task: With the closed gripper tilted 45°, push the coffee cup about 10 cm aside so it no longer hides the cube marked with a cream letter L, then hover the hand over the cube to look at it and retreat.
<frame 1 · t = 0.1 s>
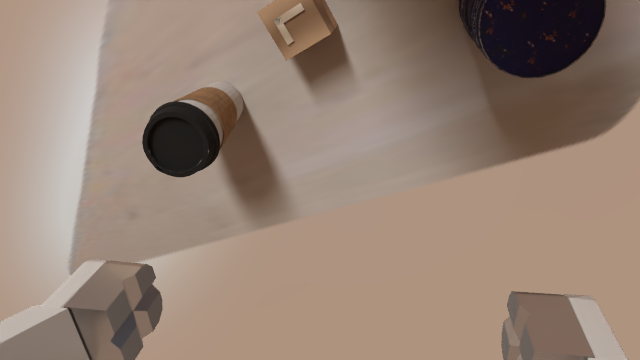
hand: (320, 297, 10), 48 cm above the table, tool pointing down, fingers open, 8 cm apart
coffee cup: (223, 101, 61), on the table
lettered cube: (304, 15, 53), on the table
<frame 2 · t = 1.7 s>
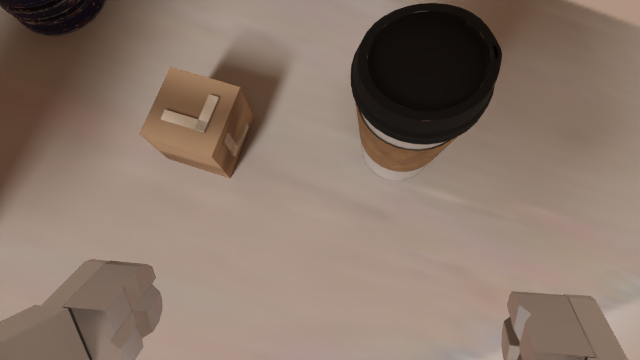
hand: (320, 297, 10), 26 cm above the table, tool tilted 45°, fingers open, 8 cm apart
coffee cup: (395, 149, 39), on the table
lettered cube: (211, 138, 40), on the table
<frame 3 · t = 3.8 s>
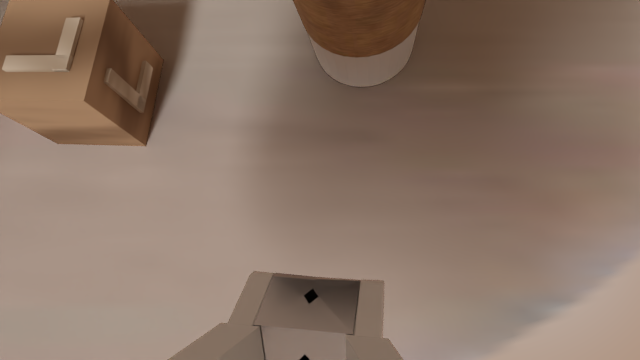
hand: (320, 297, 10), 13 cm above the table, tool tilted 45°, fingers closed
coffee cup: (363, 46, 27), on the table
lettered cube: (112, 101, 28), on the table
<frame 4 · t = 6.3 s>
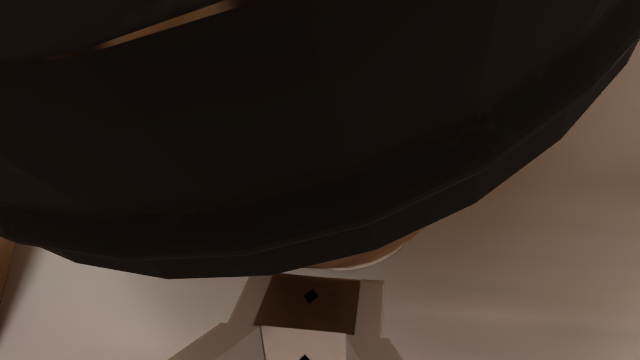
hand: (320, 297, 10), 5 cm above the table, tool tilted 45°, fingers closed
coffee cup: (344, 191, 17), on the table
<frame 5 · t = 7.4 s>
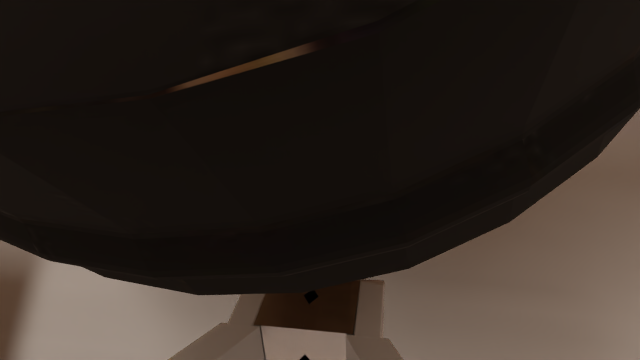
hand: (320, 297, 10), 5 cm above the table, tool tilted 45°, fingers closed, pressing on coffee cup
coffee cup: (351, 191, 17), on the table, touching gripper
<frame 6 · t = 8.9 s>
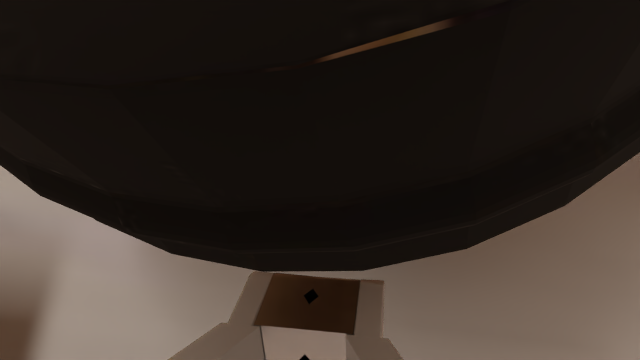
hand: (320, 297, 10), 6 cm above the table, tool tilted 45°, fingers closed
coffee cup: (368, 188, 17), on the table
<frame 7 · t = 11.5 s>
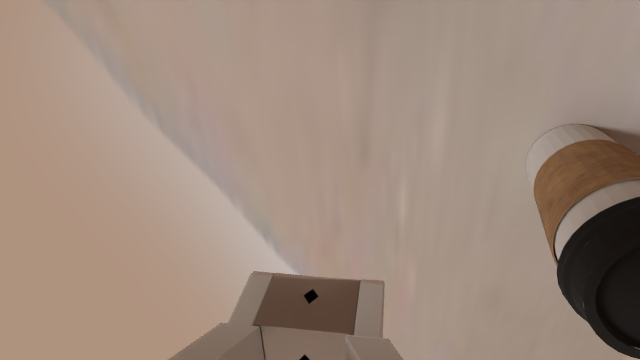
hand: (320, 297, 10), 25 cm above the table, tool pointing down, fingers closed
coffee cup: (566, 159, 33), on the table
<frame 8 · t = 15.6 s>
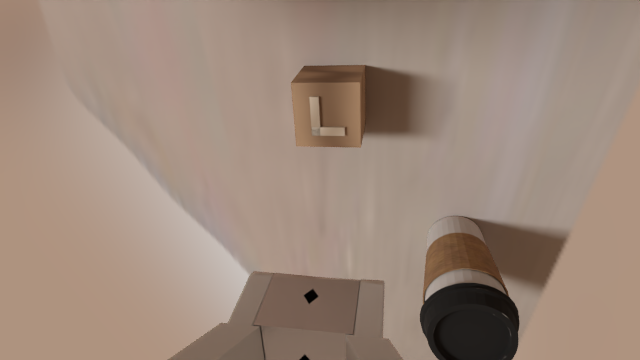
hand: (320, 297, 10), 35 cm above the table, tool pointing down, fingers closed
coffee cup: (454, 236, 50), on the table
lettered cube: (335, 95, 44), on the table
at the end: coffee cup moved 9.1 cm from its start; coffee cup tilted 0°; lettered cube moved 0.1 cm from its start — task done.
